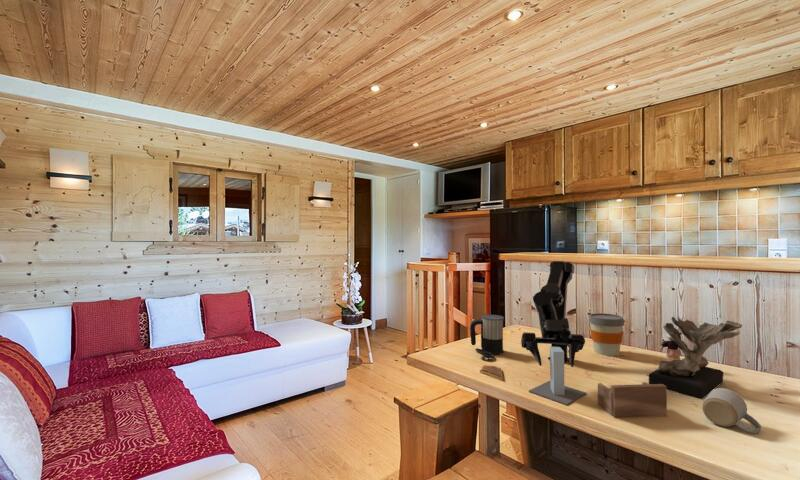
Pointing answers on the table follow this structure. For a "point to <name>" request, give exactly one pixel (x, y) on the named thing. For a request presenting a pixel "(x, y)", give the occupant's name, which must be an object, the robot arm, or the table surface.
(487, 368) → the shard
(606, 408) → the brown wooden box
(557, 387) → the pale grey rectangular block
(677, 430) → the table surface
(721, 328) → the driftwood sculpture
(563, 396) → the rubber mat
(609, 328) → the reusable coffee cup
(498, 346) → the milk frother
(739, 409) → the ceramic mug
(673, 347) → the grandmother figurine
